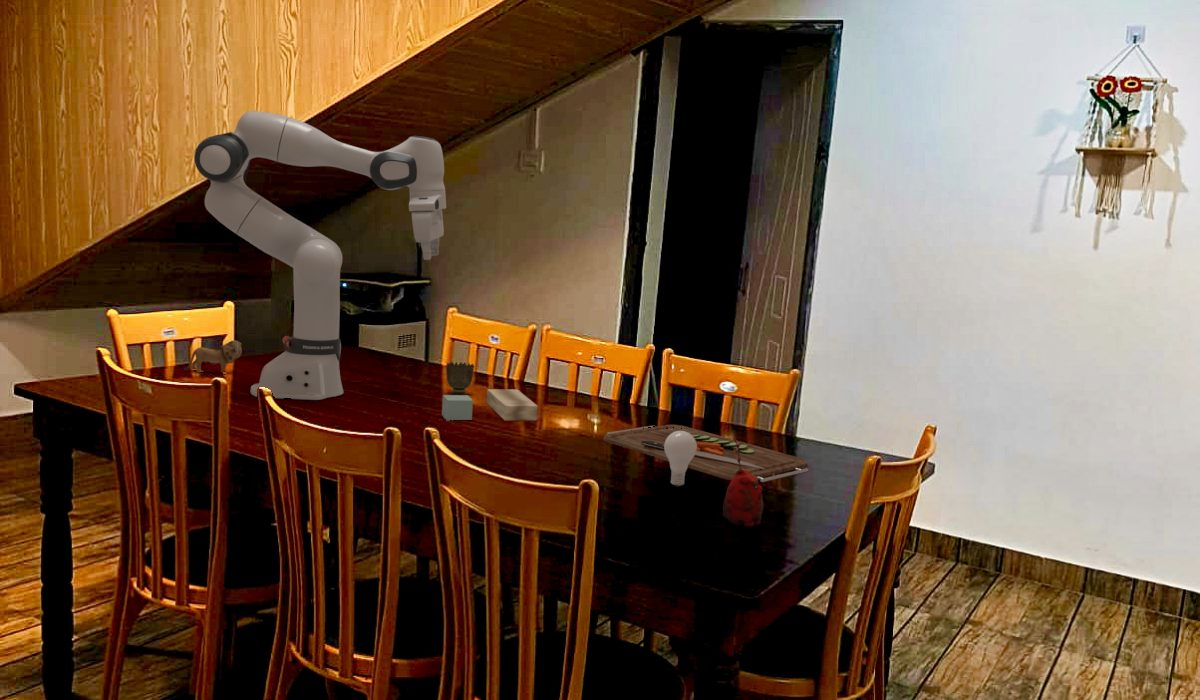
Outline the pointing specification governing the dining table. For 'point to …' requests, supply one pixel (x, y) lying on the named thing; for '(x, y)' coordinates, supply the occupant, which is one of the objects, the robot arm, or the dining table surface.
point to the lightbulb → (679, 454)
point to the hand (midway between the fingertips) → (431, 257)
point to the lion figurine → (216, 355)
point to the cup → (459, 376)
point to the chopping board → (711, 452)
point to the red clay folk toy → (743, 497)
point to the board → (511, 404)
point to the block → (457, 407)
